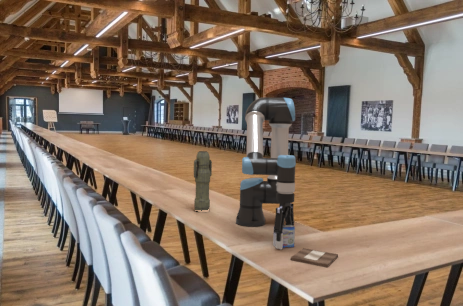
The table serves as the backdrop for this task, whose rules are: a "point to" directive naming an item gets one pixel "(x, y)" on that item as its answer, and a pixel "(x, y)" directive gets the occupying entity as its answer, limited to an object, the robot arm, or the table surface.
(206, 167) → the green robed figurine
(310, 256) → the pad
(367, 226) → the table surface
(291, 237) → the medicine box
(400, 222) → the table surface
